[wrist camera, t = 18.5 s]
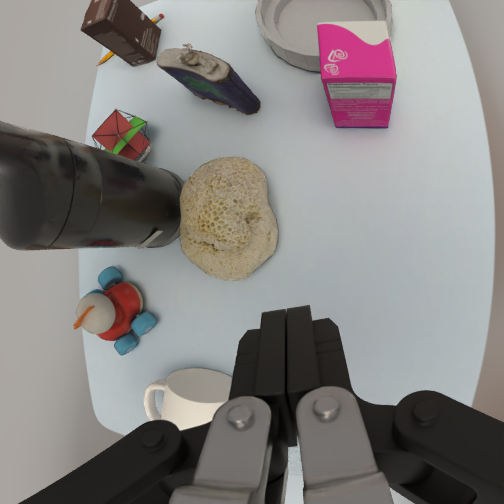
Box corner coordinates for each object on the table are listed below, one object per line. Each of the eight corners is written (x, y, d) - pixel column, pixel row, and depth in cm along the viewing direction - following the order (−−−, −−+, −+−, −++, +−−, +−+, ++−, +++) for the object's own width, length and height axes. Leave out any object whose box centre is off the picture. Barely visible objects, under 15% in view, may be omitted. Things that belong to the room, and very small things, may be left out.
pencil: (161, 13, 37) (161, 12, 37) (94, 65, 41) (95, 64, 41) (164, 17, 37) (164, 16, 38) (97, 68, 41) (98, 67, 42)
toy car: (92, 302, 42) (38, 314, 32) (122, 260, 40) (65, 265, 30) (128, 355, 40) (77, 378, 31) (164, 316, 38) (110, 336, 29)
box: (158, 59, 38) (103, 18, 26) (132, 67, 39) (77, 32, 28) (164, 27, 38) (115, -15, 26) (139, 36, 39) (89, -2, 27)
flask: (191, 95, 36) (141, 57, 26) (202, 76, 36) (156, 33, 25) (254, 119, 34) (215, 76, 24) (266, 97, 33) (232, 48, 23)
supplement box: (330, 81, 31) (315, 19, 20) (383, 81, 29) (389, 19, 18) (332, 129, 31) (320, 78, 20) (389, 130, 29) (401, 78, 19)
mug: (257, 381, 35) (231, 414, 27) (246, 444, 35) (222, 481, 28) (165, 354, 38) (126, 375, 31) (163, 414, 39) (128, 441, 31)
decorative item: (155, 174, 33) (214, 132, 26) (217, 186, 39) (280, 155, 33) (162, 289, 31) (230, 275, 25) (227, 285, 38) (298, 272, 31)
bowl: (275, 85, 33) (266, 69, 29) (257, -3, 33) (248, -20, 29) (407, 66, 28) (411, 47, 24) (368, -21, 28) (367, -41, 25)
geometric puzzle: (105, 110, 29) (169, 120, 35) (92, 102, 33) (148, 111, 39) (91, 174, 32) (153, 178, 37) (80, 157, 36) (134, 161, 42)
